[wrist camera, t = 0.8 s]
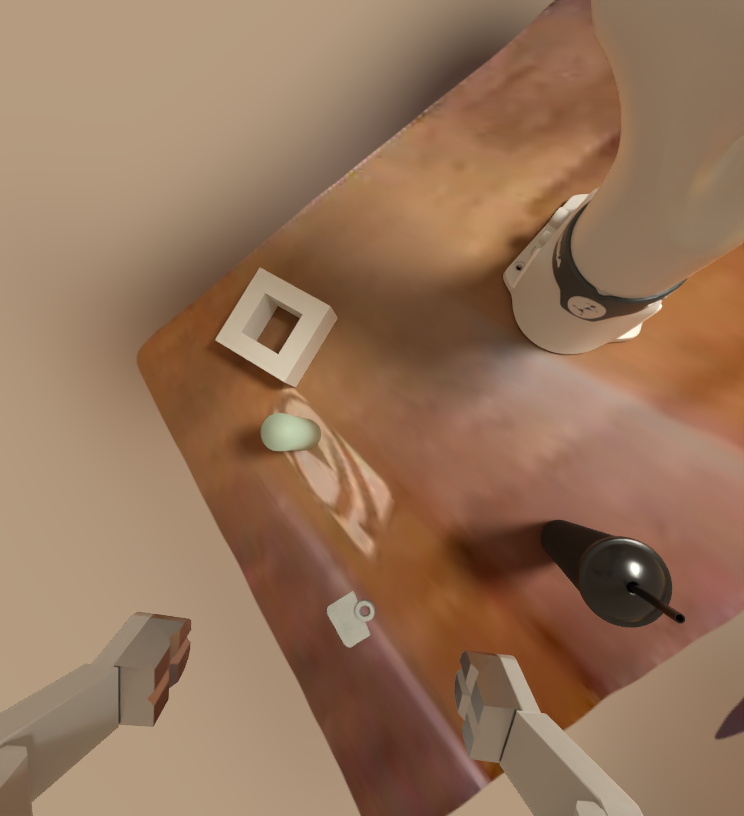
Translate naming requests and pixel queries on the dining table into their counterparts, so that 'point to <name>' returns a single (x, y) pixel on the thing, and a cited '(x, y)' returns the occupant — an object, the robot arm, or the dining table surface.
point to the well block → (257, 313)
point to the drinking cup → (612, 573)
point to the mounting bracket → (350, 618)
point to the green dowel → (289, 433)
